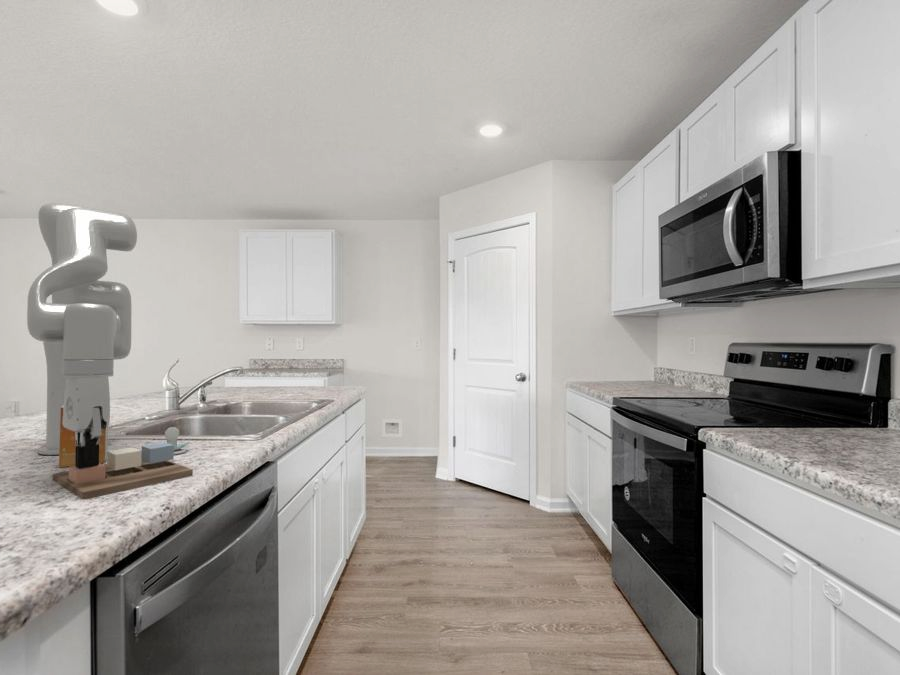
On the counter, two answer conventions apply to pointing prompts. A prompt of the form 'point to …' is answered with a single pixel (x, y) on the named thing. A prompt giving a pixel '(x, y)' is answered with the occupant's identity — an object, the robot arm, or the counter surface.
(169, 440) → the pacifier
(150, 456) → the blue cube
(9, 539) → the counter surface
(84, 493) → the walnut board
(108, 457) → the cream cube
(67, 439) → the small box
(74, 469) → the pink square block
